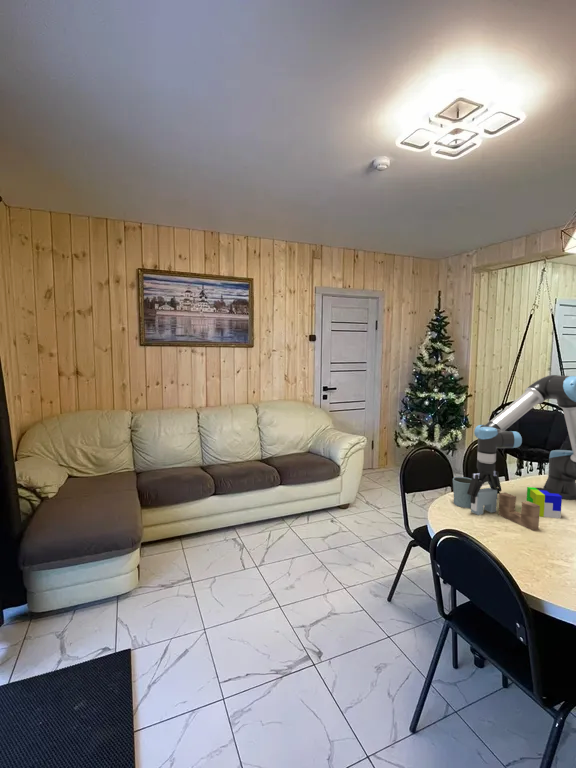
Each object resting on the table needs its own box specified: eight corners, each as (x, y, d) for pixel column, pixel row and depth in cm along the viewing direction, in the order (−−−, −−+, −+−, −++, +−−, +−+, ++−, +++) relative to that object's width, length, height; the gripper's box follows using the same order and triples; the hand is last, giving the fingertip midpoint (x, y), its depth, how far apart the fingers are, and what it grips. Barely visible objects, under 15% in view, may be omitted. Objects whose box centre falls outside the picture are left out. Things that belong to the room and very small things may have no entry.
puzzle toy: (560, 518, 167) (562, 496, 166) (535, 516, 169) (536, 494, 168) (549, 509, 177) (551, 488, 176) (526, 507, 179) (527, 487, 178)
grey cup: (467, 510, 175) (468, 484, 174) (447, 503, 183) (448, 478, 182) (478, 505, 181) (480, 480, 180) (458, 498, 189) (459, 475, 188)
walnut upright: (498, 515, 170) (499, 493, 169) (503, 513, 171) (505, 492, 170) (532, 530, 155) (533, 506, 154) (538, 529, 156) (539, 505, 155)
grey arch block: (488, 508, 177) (489, 487, 176) (496, 511, 173) (497, 490, 172) (470, 511, 173) (471, 490, 172) (478, 515, 169) (479, 493, 168)
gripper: (497, 457, 179) (495, 502, 181) (459, 461, 171) (457, 508, 172) (512, 461, 172) (509, 508, 174) (473, 466, 164) (470, 515, 165)
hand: (483, 508), depth 173 cm, fingers closed on grey arch block, 11 cm apart
